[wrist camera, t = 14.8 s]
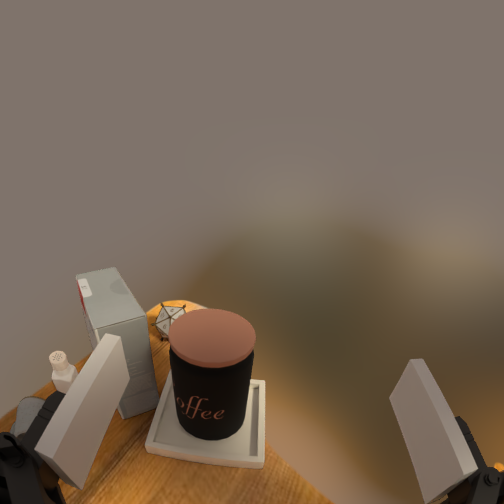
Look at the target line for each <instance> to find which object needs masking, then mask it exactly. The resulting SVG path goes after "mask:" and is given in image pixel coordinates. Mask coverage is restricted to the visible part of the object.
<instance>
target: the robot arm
mask: <svg viewBox="0 0 504 504" xmlns="http://www.w3.org/2000/svg"><path fill="white" fill-rule="evenodd" d="M129 380H130V377H129V373H128V369H127V364H126V360H125V355H124V351H123V346H122V341H121V336H116V335H112V334H107V333H105V335H104V336H103V338H102V339H101V341H100V342H99V344H98V345H97V347H96V348H95V350H94V351H93V353H92V354H91V356H90V357H89V359H88V360H87V362H86V363H85V365H84V366H83V368H82V369H81V371H80V373H79V374H78V376H77V377H76V379H75V380H74V382H73V384H72V385H71V387H70V388H69V390H68V392H67V393H66V394H65V393H62V392H60V391H55V392H54V393H53V394H51V395H50V396H49V397H48V398H47V399H46V401H45V402H44V404H43V405H42V409H40V410H39V412H38V413H37V416H36V417H35V418H34V420H33V422H32V423H31V425H30V427H29V428H28V430H27V432H26V433H25V435H24V437H23V439H22V440H21V442H20V441H19V440H18V439H17V437H16V436H15V435H14V434H11V433H9V432H2V433H0V504H66V502H65V499H64V497H63V494H62V492H61V489H60V486H59V484H58V483H57V482H58V480H59V478H61V479H62V480H63V481H64V482H65V483H66V484H68V485H71V486H73V487H75V488H78V489H80V490H82V489H83V486H84V484H85V481H86V479H87V476H88V474H89V471H90V469H91V466H92V464H93V461H94V459H95V456H96V454H97V452H98V449H99V447H100V445H101V442H102V440H103V438H104V435H105V433H106V431H107V428H108V426H109V424H110V421H111V419H112V417H113V415H114V413H115V410H116V408H117V406H118V404H119V401H120V399H121V397H122V395H123V393H124V391H125V388H126V386H127V384H128V382H129ZM389 399H390V401H391V404H392V406H393V409H394V412H395V414H396V417H397V420H398V423H399V425H400V428H401V431H402V434H403V437H404V439H405V442H406V445H407V448H408V451H409V454H410V457H411V460H412V463H413V467H414V469H415V473H416V476H417V479H418V482H419V486H420V489H421V493H422V496H423V500H424V503H425V504H428V503H432V502H434V501H437V500H440V499H441V498H442V497H444V496H445V495H446V494H447V495H448V498H447V499H446V500H445V501H443V502H442V503H441V504H504V470H503V471H500V472H499V471H498V470H497V469H495V468H493V467H487V466H486V464H485V462H484V459H483V457H482V455H481V453H480V450H479V448H478V446H477V444H476V442H475V441H474V438H473V436H472V434H470V433H471V432H470V430H469V428H468V426H467V424H466V423H465V421H464V420H463V419H462V418H460V416H458V417H454V416H453V414H452V412H451V410H450V408H449V406H448V404H447V402H446V400H445V398H444V396H443V394H442V392H441V391H440V389H439V387H438V385H437V383H436V381H435V380H434V378H433V376H432V374H431V372H430V371H429V369H428V367H427V365H426V364H425V362H424V360H423V359H410V361H409V363H408V365H407V367H406V369H405V371H404V372H403V374H402V376H401V378H400V380H399V382H398V383H397V385H396V387H395V389H394V391H393V392H392V394H391V396H390V398H389Z"/></svg>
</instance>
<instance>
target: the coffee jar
mask: <svg viewBox="0 0 504 504" xmlns="http://www.w3.org/2000/svg"><path fill="white" fill-rule="evenodd" d="M168 339H169V343H170V350H169V355H170V365H171V374H172V383H173V391H174V398H175V405H176V412H177V417H178V420H179V423H180V425H181V426H182V427H183V428H184V429H185V431H186V432H188V433H189V434H191V435H193V436H194V437H196V438H199V439H203V440H208V441H218V440H222V439H226V438H228V437H230V436H232V435H233V434H235V433H236V432H237V431H238V430H239V429H240V428H241V427H242V425H243V422H244V419H245V414H246V407H247V401H248V394H249V387H250V380H251V372H252V365H253V358H254V352H253V347H254V344H255V341H256V336H255V331H254V329H253V327H252V326H251V324H250V323H249V322H248V321H246V320H245V319H244V318H242V317H241V316H239V315H237V314H234V313H232V312H229V311H224V310H220V309H200V310H193V311H191V312H188V313H185V314H183V315H181V316H180V317H178V318H177V319H175V320H174V322H173V323H172V324H171V326H170V327H169V332H168Z"/></svg>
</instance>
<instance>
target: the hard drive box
mask: <svg viewBox="0 0 504 504" xmlns="http://www.w3.org/2000/svg"><path fill="white" fill-rule="evenodd" d="M76 281H77V286H78V291H79V295H80V300H81V305H82V309H83V313H84V318H85V322H86V326H87V330H88V334H89V338H90V341H91V345H92V348H93V351H94V350H95V348H96V347H97V345H98V344H99V342H100V341H101V339H102V338H103V336H104V335H105V333H107V334H112V335H116V336H121V341H122V346H123V351H124V355H125V360H126V364H127V369H128V373H129V377H130V380H129V382H128V384H127V386H126V388H125V391H124V393H123V395H122V397H121V399H120V401H119V404H118V406H117V409H118V411H119V413H120V415H121V417H122V419H127V418H130V417H133V416H136V415H139V414H141V413H144V412H147V411H150V410H152V409H155V408H157V406H158V403H159V395H158V390H157V384H156V378H155V373H154V366H153V360H152V354H151V347H150V339H149V332H148V324H147V315H146V313H145V312H144V310H143V309H142V307H141V306H140V304H139V303H138V301H137V300H136V299H135V297H134V295H133V294H132V292H131V291H130V289H129V288H128V286H127V285H126V283H125V281H124V280H123V278H122V277H121V275H120V274H119V272H118V270H117V269H116V268H115V267H112V268H107V269H102V270H97V271H93V272H88V273H83V274H79V275H76Z"/></svg>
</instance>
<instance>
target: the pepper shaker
mask: <svg viewBox="0 0 504 504" xmlns="http://www.w3.org/2000/svg"><path fill="white" fill-rule="evenodd" d="M49 361H50V363H51V366H52V368H53V372H52V381H53V383H54V385H55V387H56V389H57V391H60V392H62V393H65V394H66V393H67V392H68V390H69V388H70V387H71V385H72V384H73V382H74V380H75V379H76V377H77V376H78V372H77V370H76V367H75V366H73V365H70V364H69V362H68V359H67V356H66V354H65V353H64V352H62V351H55V352H53V353H52V354H51V355H50V356H49Z"/></svg>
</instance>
